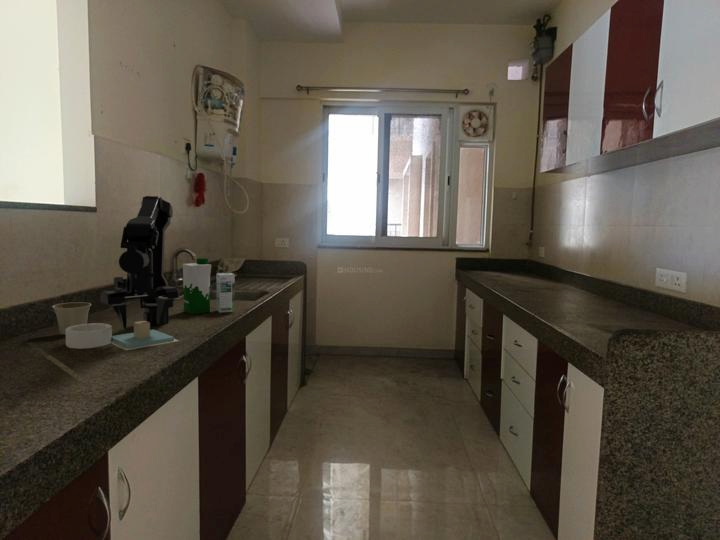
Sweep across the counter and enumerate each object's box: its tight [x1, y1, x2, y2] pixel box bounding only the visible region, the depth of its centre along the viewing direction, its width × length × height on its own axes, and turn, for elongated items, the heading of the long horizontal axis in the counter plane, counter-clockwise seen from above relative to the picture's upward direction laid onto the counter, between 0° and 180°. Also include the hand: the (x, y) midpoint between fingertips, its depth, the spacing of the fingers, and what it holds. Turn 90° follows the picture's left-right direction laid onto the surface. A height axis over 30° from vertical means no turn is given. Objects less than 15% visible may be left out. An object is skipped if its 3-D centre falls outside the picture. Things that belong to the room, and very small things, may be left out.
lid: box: [112, 320, 175, 349], centre depth 122 cm, size 12×12×5 cm
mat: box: [110, 338, 180, 351], centre depth 122 cm, size 14×14×1 cm
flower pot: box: [52, 301, 92, 335], centre depth 129 cm, size 9×9×9 cm
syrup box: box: [216, 272, 236, 314], centre depth 170 cm, size 6×6×14 cm
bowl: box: [65, 322, 113, 350], centre depth 118 cm, size 10×10×5 cm
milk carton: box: [182, 257, 212, 315], centre depth 166 cm, size 9×9×20 cm
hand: (141, 326), depth 122 cm, fingers open, 9 cm apart
